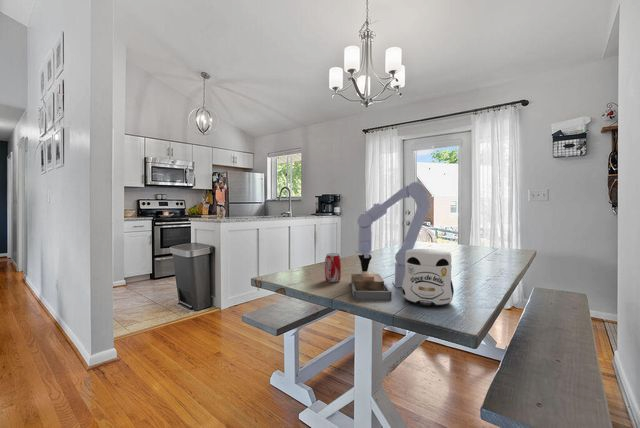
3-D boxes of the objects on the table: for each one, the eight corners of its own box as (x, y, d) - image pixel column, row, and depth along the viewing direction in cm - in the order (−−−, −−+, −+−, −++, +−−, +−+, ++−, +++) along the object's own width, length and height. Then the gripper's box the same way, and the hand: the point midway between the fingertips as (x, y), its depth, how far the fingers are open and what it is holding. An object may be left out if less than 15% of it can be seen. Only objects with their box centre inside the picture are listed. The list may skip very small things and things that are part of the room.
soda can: (341, 283, 141) (341, 255, 140) (324, 283, 141) (324, 255, 141) (340, 278, 148) (340, 253, 147) (325, 278, 148) (325, 252, 148)
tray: (386, 291, 128) (386, 284, 128) (391, 300, 117) (391, 291, 117) (351, 291, 128) (351, 283, 128) (353, 299, 117) (353, 291, 117)
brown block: (378, 283, 141) (379, 274, 141) (384, 291, 128) (384, 281, 128) (351, 282, 141) (351, 273, 141) (353, 291, 128) (353, 281, 128)
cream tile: (370, 275, 139) (370, 271, 139) (372, 277, 135) (372, 273, 135) (360, 274, 139) (360, 271, 139) (361, 277, 135) (361, 273, 135)
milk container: (419, 312, 104) (420, 257, 103) (393, 297, 121) (393, 249, 120) (464, 308, 109) (465, 255, 108) (433, 293, 126) (433, 247, 125)
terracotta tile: (372, 277, 134) (372, 274, 134) (374, 280, 130) (374, 276, 130) (361, 277, 134) (361, 274, 134) (362, 280, 130) (362, 276, 130)
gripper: (354, 239, 150) (354, 268, 151) (357, 243, 136) (357, 275, 136) (369, 239, 150) (369, 268, 151) (374, 243, 136) (373, 275, 136)
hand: (364, 271), depth 143 cm, fingers closed
